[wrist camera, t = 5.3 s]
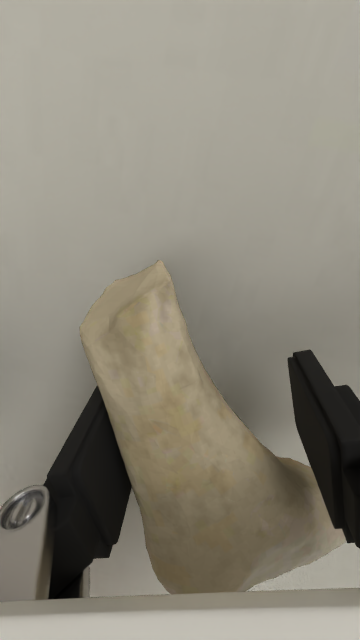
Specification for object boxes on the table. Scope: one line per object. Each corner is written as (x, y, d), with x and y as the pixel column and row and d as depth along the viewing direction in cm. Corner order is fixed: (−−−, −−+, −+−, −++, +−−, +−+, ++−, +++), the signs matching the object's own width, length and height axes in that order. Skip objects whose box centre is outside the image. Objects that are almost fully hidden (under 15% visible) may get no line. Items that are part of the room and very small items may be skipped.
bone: (336, 473, 12) (405, 632, 8) (208, 522, 14) (207, 671, 10) (164, 245, 9) (123, 299, 5) (32, 347, 11) (-82, 450, 7)
